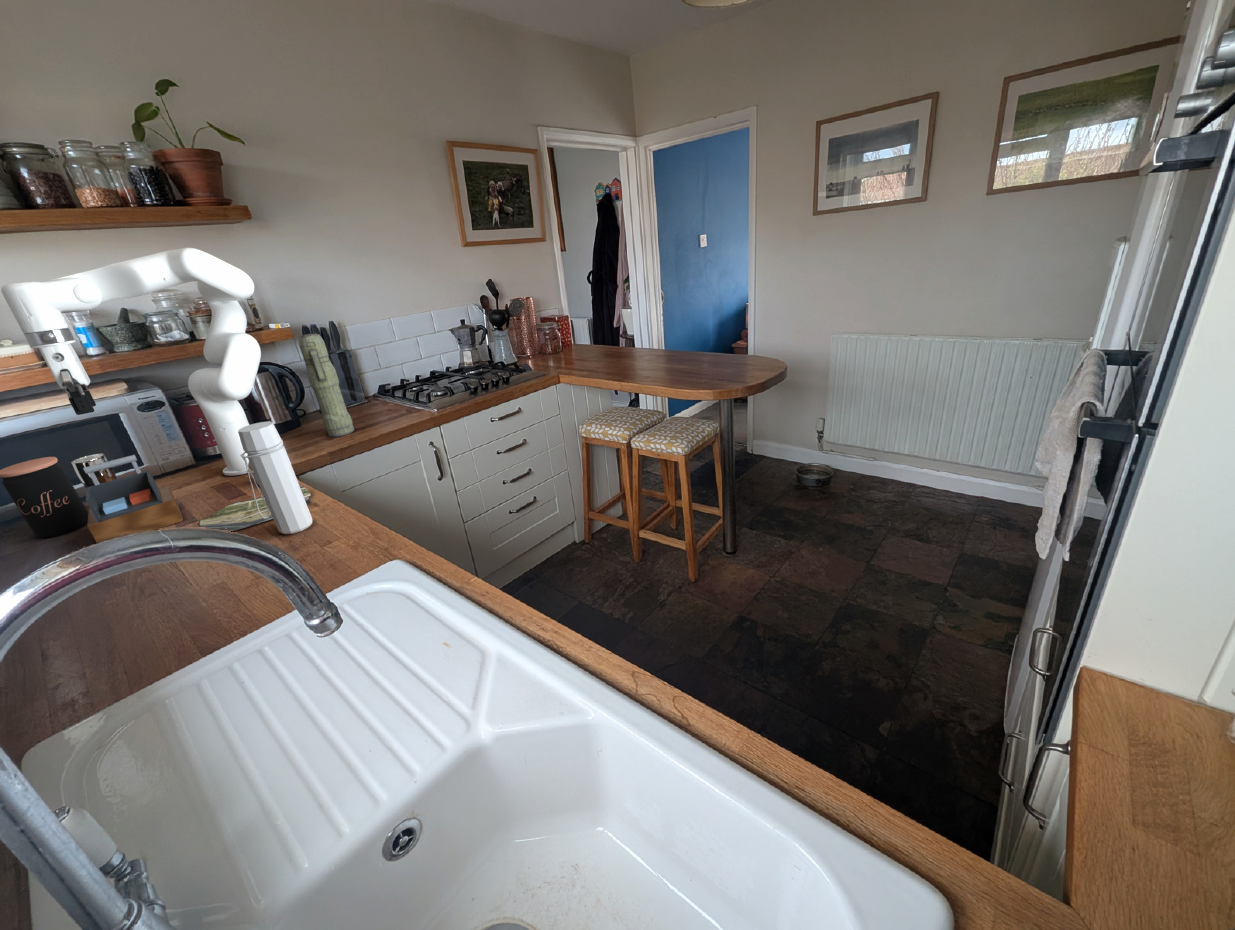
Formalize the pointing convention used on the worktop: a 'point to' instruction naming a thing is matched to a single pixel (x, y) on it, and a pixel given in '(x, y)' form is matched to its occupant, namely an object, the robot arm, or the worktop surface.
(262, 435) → the water bottle
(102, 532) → the riser
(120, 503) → the block
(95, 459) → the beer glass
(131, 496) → the block
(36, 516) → the coffee jar
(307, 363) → the thermos
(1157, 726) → the worktop surface
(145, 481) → the basket
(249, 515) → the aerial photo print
